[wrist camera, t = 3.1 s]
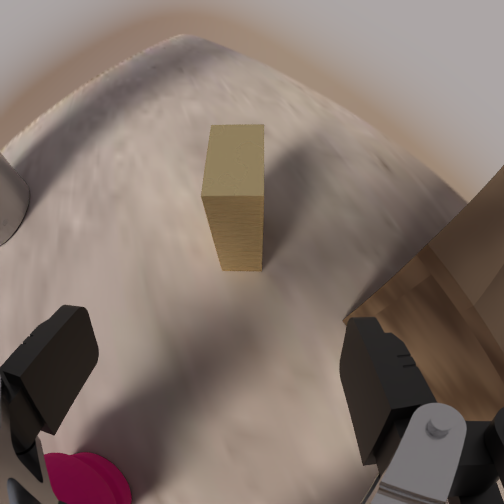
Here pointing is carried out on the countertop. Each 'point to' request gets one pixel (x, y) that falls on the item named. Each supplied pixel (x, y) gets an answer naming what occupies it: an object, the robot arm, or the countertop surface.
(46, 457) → the pepper mill
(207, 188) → the beige rectangular block
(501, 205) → the wooden box
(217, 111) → the countertop surface
